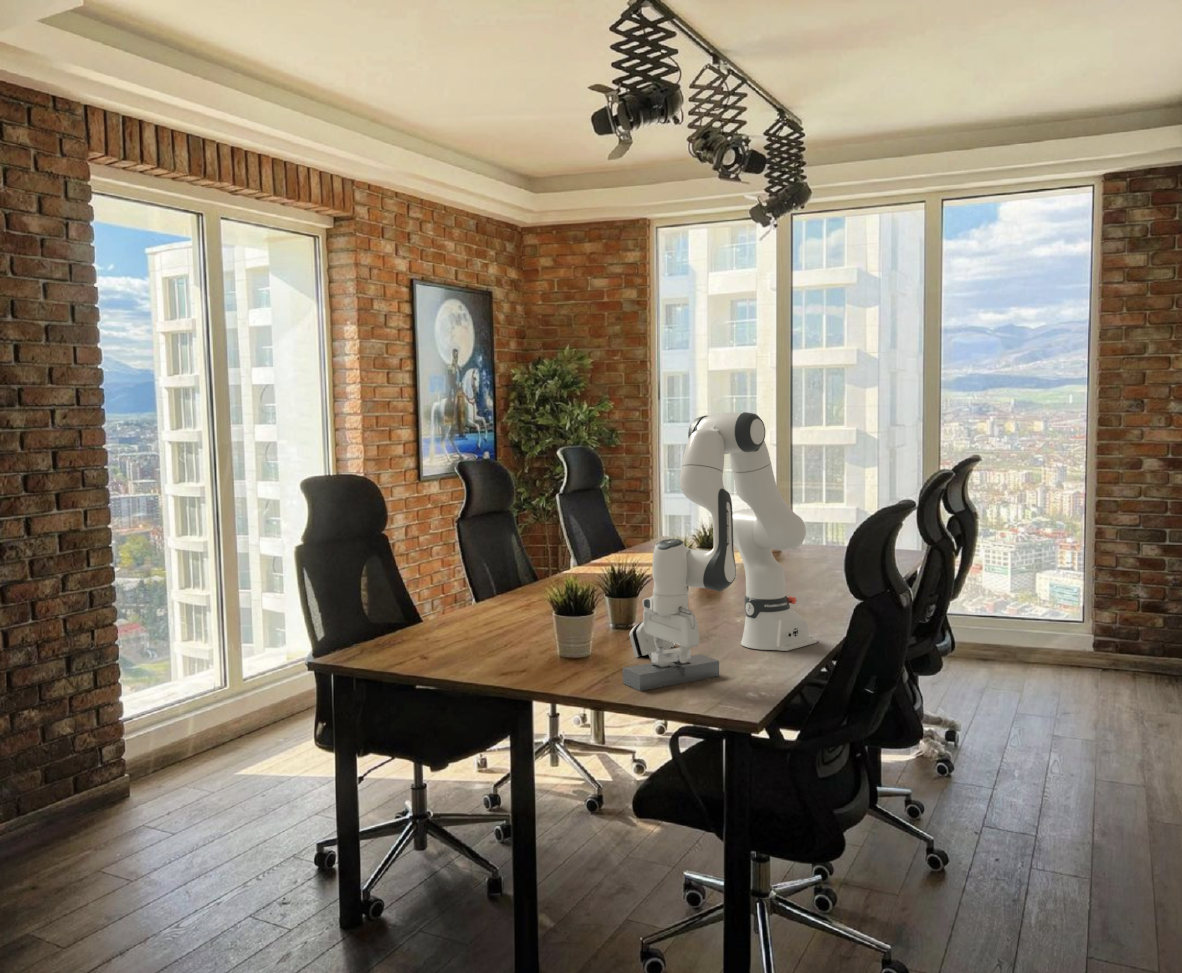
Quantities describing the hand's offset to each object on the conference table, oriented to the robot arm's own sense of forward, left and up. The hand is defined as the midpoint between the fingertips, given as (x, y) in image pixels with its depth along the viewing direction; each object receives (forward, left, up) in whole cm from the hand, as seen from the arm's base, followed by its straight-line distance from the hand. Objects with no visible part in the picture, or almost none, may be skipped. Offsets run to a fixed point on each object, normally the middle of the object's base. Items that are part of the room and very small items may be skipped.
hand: (671, 658), depth 248 cm
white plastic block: (-12, -28, -6) cm, 31 cm away
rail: (0, 0, -6) cm, 6 cm away
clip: (0, 0, -6) cm, 6 cm away
